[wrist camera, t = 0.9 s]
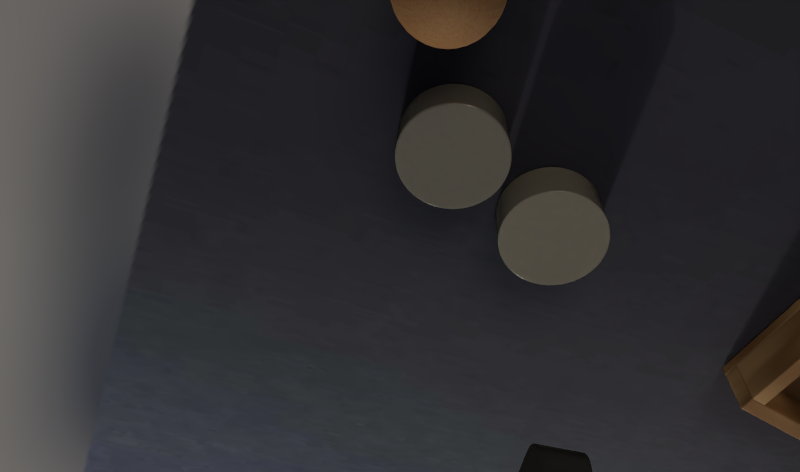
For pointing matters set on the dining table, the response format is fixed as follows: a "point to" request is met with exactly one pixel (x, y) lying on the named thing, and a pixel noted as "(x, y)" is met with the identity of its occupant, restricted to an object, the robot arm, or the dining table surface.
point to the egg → (448, 20)
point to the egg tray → (771, 373)
